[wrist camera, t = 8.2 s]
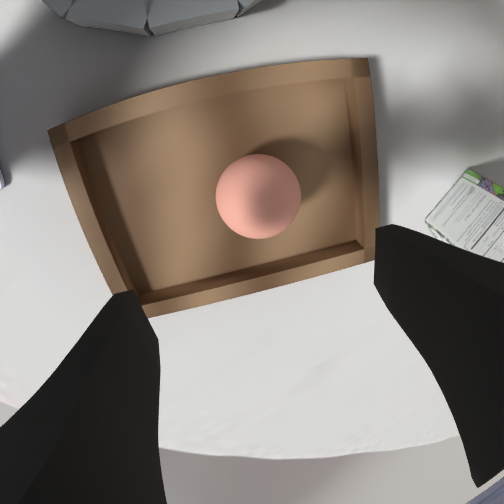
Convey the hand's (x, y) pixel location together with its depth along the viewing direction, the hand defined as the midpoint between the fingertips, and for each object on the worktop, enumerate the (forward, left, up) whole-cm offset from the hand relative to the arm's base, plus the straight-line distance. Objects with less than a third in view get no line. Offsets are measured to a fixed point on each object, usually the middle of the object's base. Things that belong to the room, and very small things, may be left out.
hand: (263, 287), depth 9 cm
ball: (0, 0, -8) cm, 9 cm away
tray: (0, 0, -10) cm, 10 cm away
